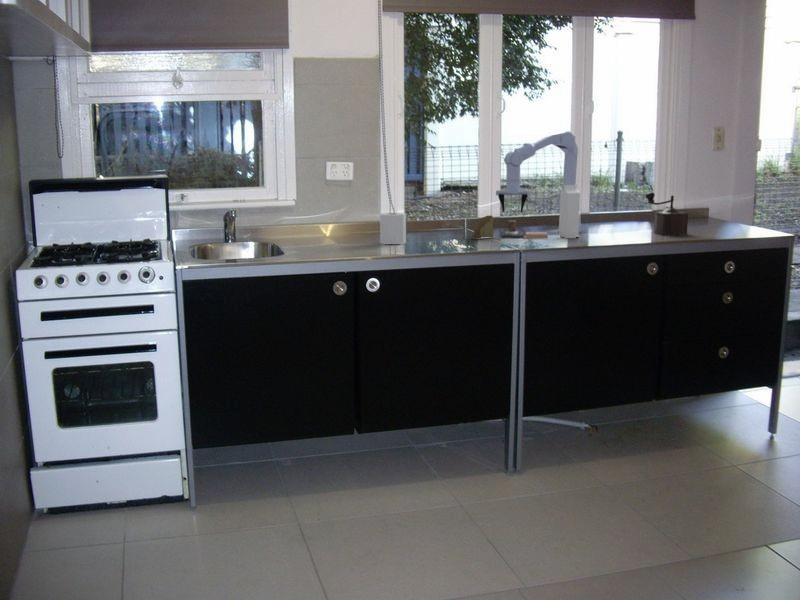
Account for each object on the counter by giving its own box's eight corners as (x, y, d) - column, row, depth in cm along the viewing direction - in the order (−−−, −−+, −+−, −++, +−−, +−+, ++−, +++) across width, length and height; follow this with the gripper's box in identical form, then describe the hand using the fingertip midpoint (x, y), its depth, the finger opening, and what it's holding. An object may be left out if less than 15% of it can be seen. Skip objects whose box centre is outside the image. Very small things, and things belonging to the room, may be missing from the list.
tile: (547, 232, 370) (547, 234, 362) (547, 237, 371) (547, 239, 363) (525, 231, 372) (525, 234, 364) (525, 237, 372) (525, 239, 364)
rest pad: (523, 234, 377) (523, 232, 377) (523, 238, 365) (523, 235, 365) (502, 234, 378) (502, 232, 378) (501, 237, 367) (501, 235, 366)
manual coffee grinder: (673, 232, 381) (675, 190, 378) (687, 234, 371) (690, 192, 367) (641, 233, 377) (643, 191, 374) (655, 236, 367) (657, 193, 363)
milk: (559, 237, 368) (560, 184, 363) (571, 236, 370) (572, 184, 365) (566, 238, 362) (567, 185, 358) (579, 237, 364) (580, 185, 360)
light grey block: (376, 244, 350) (375, 214, 347) (387, 241, 359) (386, 212, 357) (399, 245, 346) (398, 215, 343) (409, 242, 355) (409, 212, 353)
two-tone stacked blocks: (517, 232, 377) (518, 220, 376) (517, 235, 366) (517, 223, 365) (506, 231, 378) (506, 220, 377) (505, 235, 367) (505, 223, 366)
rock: (473, 235, 358) (497, 231, 359) (468, 217, 362) (492, 213, 362) (471, 247, 368) (494, 244, 369) (466, 230, 371) (489, 226, 372)
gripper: (495, 180, 369) (495, 212, 371) (530, 180, 366) (529, 213, 369) (496, 179, 375) (496, 211, 378) (530, 179, 373) (529, 211, 376)
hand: (512, 212), depth 374 cm, fingers open, 7 cm apart
